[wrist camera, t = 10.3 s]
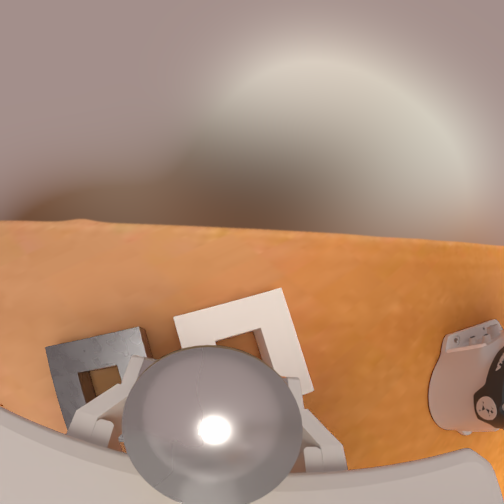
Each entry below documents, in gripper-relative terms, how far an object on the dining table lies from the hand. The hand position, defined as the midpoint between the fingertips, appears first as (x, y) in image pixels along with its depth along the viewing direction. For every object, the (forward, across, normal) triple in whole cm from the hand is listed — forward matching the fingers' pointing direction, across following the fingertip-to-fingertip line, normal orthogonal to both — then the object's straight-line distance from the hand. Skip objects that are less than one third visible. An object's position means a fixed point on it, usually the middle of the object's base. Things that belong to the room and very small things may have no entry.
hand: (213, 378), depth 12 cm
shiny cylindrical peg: (+6, 0, +6) cm, 8 cm away
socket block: (+14, +12, +21) cm, 28 cm away
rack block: (+19, -3, +17) cm, 26 cm away
